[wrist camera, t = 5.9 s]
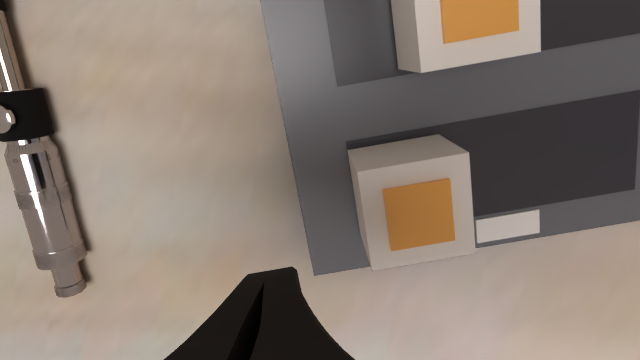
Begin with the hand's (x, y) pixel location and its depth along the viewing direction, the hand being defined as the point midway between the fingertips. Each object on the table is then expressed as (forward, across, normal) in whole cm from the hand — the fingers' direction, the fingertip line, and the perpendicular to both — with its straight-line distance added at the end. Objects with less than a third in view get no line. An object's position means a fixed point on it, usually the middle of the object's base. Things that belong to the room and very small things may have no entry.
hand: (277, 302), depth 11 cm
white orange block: (+8, -5, 0) cm, 9 cm away
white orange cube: (+8, -8, -7) cm, 13 cm away
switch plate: (+9, -10, -4) cm, 14 cm away
